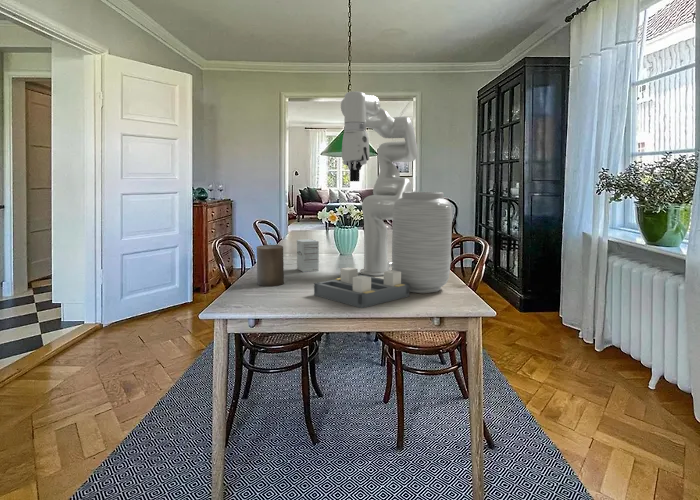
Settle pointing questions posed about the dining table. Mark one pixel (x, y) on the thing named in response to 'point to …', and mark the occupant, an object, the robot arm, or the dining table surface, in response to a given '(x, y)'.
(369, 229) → the robot arm
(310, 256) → the supplement box
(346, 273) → the tab middle
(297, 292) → the dining table surface
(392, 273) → the tab
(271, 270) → the pillar candle
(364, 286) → the tab
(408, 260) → the vase
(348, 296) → the switch bank
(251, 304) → the dining table surface
